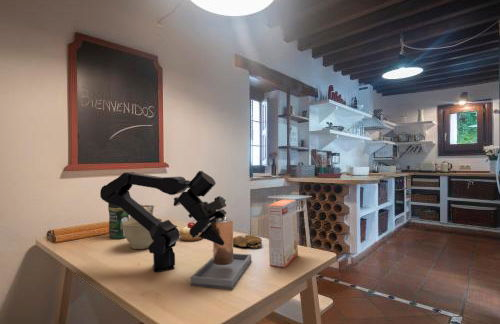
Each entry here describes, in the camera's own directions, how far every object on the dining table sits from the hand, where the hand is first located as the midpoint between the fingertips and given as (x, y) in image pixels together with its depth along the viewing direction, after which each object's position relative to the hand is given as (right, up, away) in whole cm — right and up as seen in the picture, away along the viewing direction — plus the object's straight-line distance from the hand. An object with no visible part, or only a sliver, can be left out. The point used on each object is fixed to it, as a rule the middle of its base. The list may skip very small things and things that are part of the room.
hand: (227, 241), depth 90 cm
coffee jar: (-57, -12, +48) cm, 75 cm away
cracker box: (+20, -10, +10) cm, 24 cm away
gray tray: (-1, -10, 0) cm, 10 cm away
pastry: (-20, -11, +42) cm, 47 cm away
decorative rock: (+7, -10, +29) cm, 32 cm away
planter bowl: (-39, -11, +31) cm, 51 cm away
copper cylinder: (-1, -7, 0) cm, 7 cm away
